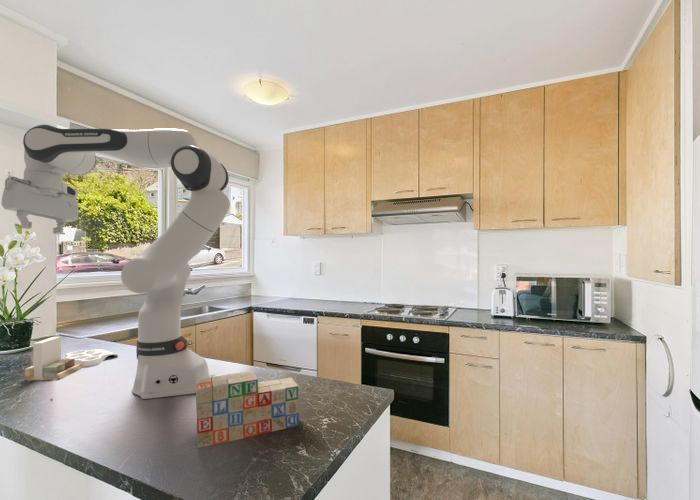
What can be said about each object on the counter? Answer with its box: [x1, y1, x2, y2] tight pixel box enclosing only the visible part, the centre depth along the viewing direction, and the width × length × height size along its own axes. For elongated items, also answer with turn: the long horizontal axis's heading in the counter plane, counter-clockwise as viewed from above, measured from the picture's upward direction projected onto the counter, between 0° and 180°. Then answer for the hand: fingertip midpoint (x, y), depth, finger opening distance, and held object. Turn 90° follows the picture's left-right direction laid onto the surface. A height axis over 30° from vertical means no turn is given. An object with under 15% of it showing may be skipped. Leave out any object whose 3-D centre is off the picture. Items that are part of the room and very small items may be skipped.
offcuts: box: [43, 358, 75, 380], centre depth 113 cm, size 8×4×4 cm, turn 5°
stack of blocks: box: [195, 370, 300, 449], centre depth 78 cm, size 21×6×12 cm, turn 113°
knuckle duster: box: [65, 348, 119, 368], centre depth 127 cm, size 3×18×15 cm
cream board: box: [32, 336, 62, 379], centre depth 112 cm, size 8×2×11 cm, turn 5°
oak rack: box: [24, 364, 83, 382], centre depth 113 cm, size 10×10×4 cm
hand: (42, 231), depth 103 cm, fingers open, 8 cm apart
